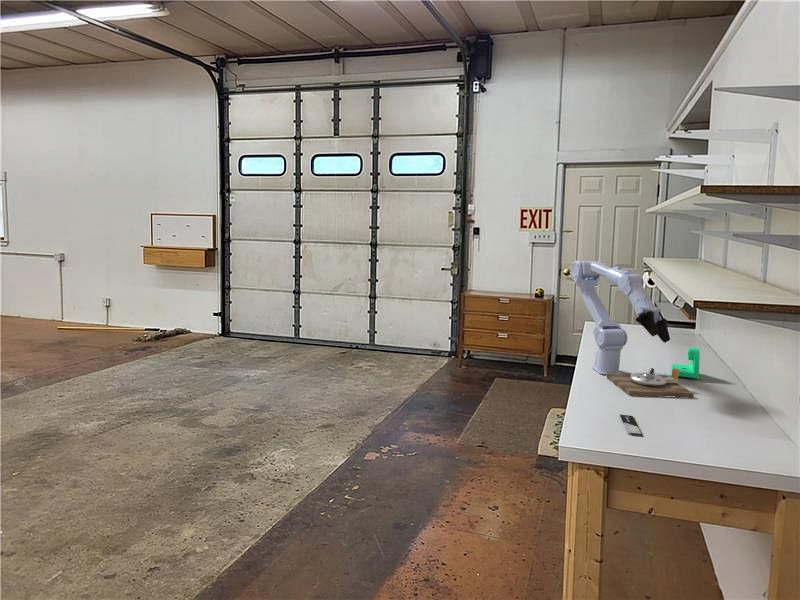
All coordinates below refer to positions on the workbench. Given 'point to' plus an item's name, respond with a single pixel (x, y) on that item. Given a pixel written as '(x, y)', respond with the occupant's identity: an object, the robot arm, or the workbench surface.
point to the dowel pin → (651, 371)
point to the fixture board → (648, 387)
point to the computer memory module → (631, 425)
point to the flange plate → (654, 378)
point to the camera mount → (693, 368)
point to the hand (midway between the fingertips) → (661, 337)
